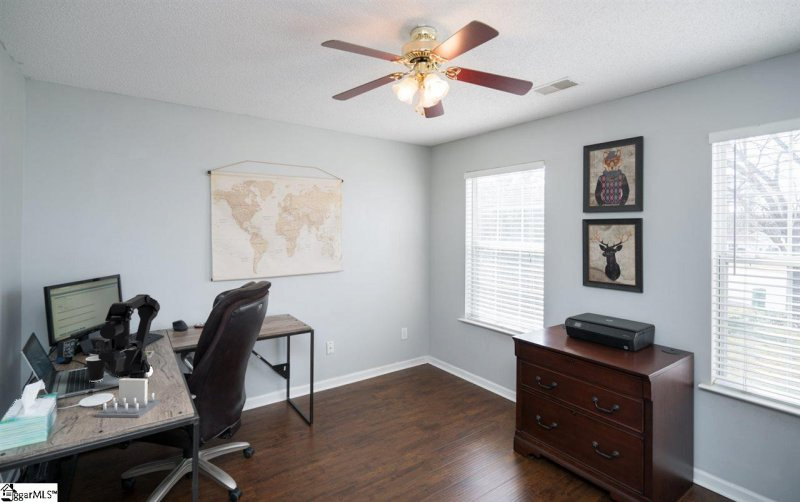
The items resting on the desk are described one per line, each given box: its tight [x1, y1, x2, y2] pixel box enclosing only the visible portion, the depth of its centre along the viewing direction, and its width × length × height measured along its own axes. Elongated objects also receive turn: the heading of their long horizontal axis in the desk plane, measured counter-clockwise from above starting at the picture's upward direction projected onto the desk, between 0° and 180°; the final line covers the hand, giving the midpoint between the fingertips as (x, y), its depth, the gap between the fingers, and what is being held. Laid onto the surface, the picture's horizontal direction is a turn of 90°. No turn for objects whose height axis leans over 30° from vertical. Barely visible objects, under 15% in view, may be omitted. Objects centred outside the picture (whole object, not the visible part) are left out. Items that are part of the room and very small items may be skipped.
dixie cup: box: [85, 354, 106, 383], centre depth 183 cm, size 8×8×11 cm
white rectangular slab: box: [118, 377, 149, 405], centre depth 158 cm, size 2×10×10 cm, turn 92°
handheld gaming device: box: [145, 350, 155, 360], centre depth 223 cm, size 9×1×15 cm
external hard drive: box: [105, 356, 153, 378], centre depth 201 cm, size 14×23×3 cm, turn 53°
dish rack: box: [95, 392, 162, 419], centre depth 155 cm, size 14×16×4 cm
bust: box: [145, 364, 154, 378], centre depth 191 cm, size 12×8×11 cm
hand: (121, 370), depth 165 cm, fingers open, 9 cm apart
